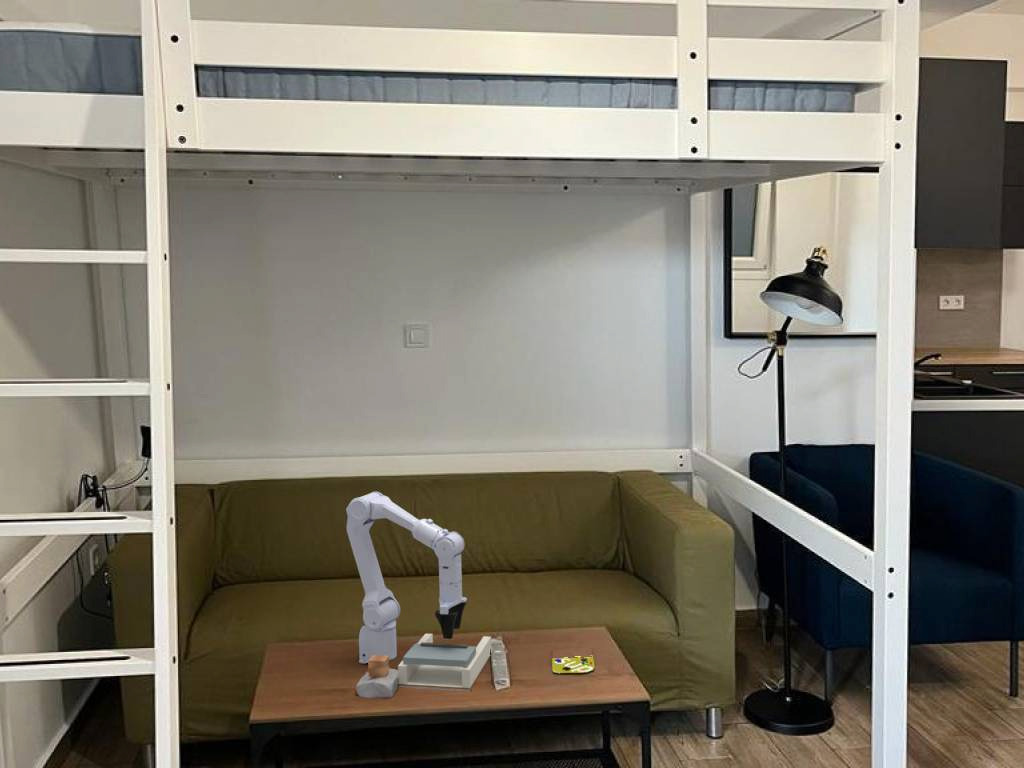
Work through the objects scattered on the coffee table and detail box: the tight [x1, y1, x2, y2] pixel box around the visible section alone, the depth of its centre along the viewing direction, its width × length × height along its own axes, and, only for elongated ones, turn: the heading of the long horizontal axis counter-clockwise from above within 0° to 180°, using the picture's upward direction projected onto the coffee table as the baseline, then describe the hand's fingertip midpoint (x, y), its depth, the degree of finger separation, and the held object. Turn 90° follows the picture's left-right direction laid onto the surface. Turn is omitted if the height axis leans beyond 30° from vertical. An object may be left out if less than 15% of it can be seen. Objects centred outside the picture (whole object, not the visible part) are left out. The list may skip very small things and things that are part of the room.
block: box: [367, 655, 390, 677], centre depth 246 cm, size 4×4×4 cm
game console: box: [551, 654, 596, 676], centre depth 262 cm, size 18×11×2 cm, turn 0°
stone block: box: [355, 667, 400, 699], centre depth 247 cm, size 12×5×10 cm
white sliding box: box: [397, 633, 492, 693], centre depth 256 cm, size 18×24×6 cm
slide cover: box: [402, 642, 477, 667], centre depth 250 cm, size 16×10×2 cm, turn 79°
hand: (451, 633), depth 258 cm, fingers open, 7 cm apart
